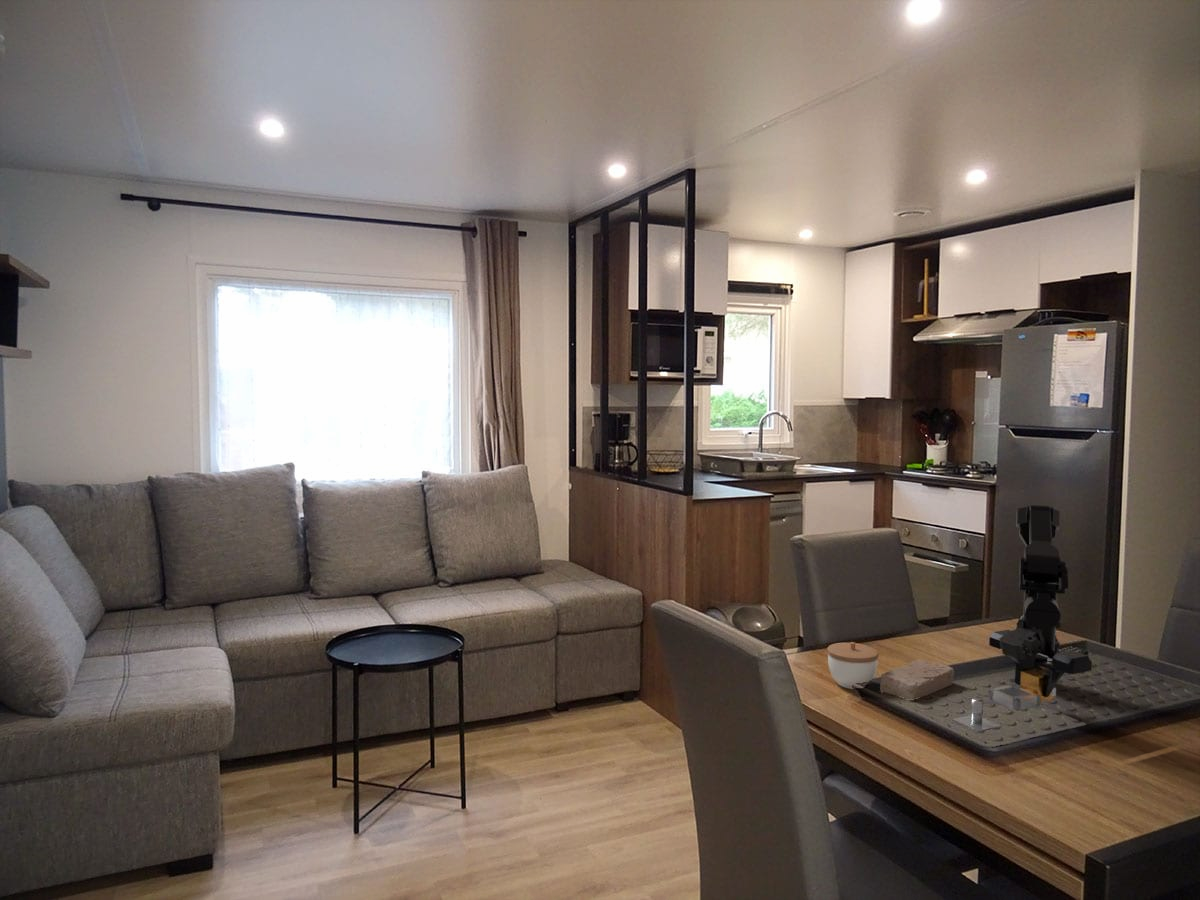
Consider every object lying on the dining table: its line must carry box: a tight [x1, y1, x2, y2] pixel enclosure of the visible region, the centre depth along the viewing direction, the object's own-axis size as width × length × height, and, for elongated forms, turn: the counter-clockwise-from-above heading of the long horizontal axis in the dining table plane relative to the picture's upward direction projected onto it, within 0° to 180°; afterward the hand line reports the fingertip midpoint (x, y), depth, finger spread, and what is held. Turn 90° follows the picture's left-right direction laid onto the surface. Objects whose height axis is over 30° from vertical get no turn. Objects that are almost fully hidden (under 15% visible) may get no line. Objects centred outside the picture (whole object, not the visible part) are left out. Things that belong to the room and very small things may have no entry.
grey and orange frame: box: [988, 669, 1057, 711], centre depth 158 cm, size 14×6×5 cm, turn 113°
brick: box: [879, 658, 955, 700], centre depth 173 cm, size 17×8×5 cm, turn 127°
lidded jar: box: [827, 641, 879, 690], centre depth 176 cm, size 11×11×9 cm
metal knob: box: [952, 697, 1001, 732], centre depth 153 cm, size 6×6×5 cm
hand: (1036, 692), depth 159 cm, fingers closed on grey and orange frame, 4 cm apart
